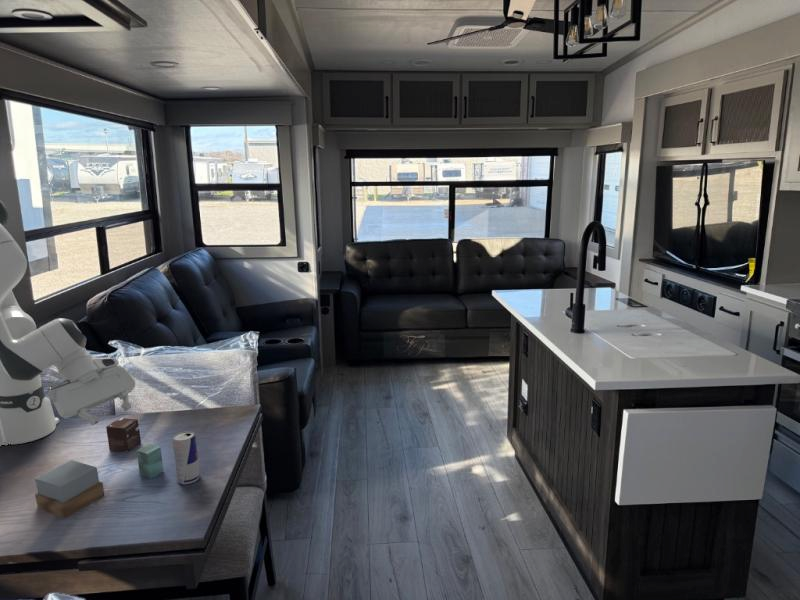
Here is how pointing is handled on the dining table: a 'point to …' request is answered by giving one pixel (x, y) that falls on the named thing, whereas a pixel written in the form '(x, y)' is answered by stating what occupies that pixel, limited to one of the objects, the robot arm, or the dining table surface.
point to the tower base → (70, 501)
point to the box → (123, 434)
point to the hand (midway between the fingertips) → (112, 415)
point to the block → (150, 460)
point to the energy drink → (186, 457)
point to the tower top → (67, 480)
